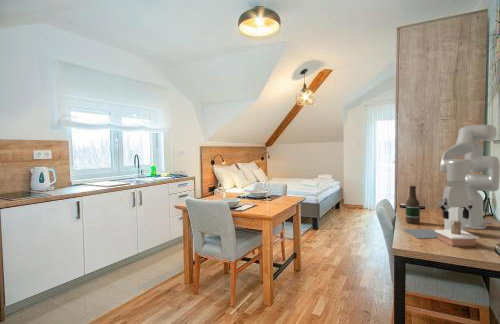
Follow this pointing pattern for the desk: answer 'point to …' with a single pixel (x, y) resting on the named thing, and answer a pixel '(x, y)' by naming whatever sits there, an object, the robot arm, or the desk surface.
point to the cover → (456, 232)
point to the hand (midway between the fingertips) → (455, 218)
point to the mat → (422, 233)
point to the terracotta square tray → (456, 241)
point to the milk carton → (455, 218)
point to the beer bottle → (412, 207)
